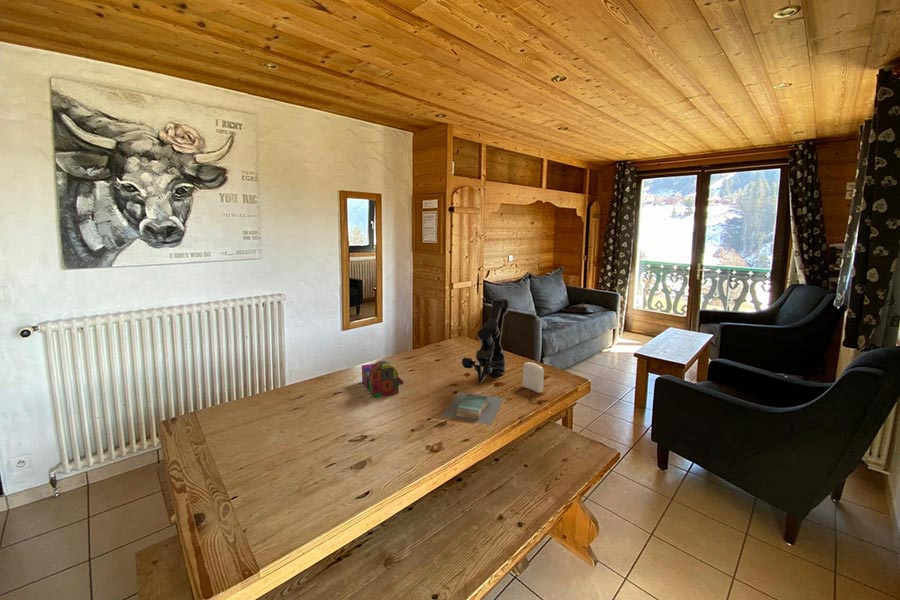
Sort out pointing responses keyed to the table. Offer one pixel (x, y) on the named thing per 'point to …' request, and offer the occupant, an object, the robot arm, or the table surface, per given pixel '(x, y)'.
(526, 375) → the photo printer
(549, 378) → the table surface
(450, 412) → the rubber mat
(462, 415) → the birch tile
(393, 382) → the block puzzle
